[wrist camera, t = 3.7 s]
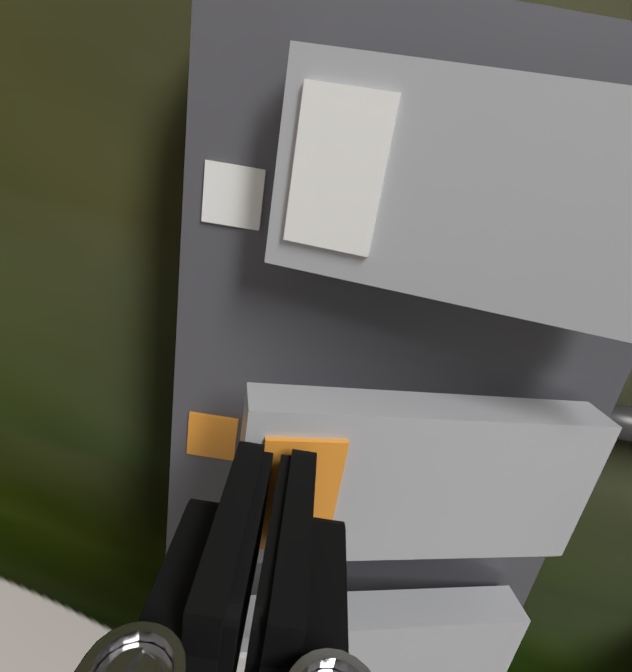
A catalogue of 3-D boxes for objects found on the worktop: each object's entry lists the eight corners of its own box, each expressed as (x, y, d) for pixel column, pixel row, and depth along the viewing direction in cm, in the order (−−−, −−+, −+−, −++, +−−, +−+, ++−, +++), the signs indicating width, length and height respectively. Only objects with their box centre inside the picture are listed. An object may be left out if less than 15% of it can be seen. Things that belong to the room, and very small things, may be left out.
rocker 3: (508, 585, 15) (533, 625, 14) (472, 670, 17) (491, 713, 15) (222, 596, 13) (221, 643, 12) (211, 691, 15) (209, 741, 14)
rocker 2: (588, 401, 12) (626, 431, 11) (535, 523, 14) (564, 560, 13) (246, 381, 11) (248, 414, 9) (230, 524, 12) (230, 568, 11)
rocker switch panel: (861, 110, 13) (1066, 96, 10) (587, 618, 21) (641, 720, 18) (235, 0, 13) (193, -59, 9) (192, 558, 21) (160, 649, 17)
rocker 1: (799, 121, 8) (863, 113, 7) (691, 341, 10) (726, 365, 9) (307, 54, 10) (287, 38, 9) (281, 252, 11) (261, 263, 10)
